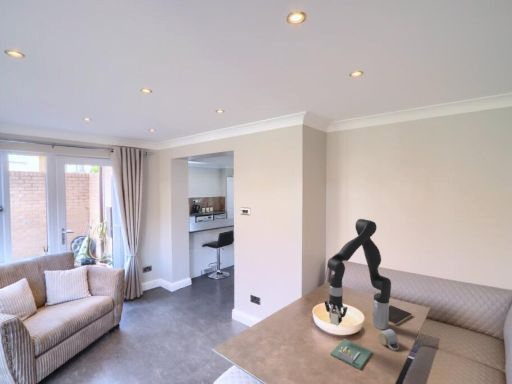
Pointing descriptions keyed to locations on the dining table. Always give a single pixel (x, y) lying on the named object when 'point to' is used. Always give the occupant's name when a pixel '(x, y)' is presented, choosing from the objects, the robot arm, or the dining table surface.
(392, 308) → the hardcover book
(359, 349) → the header board
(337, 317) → the plug block
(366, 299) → the dining table surface
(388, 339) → the ceramic mug
